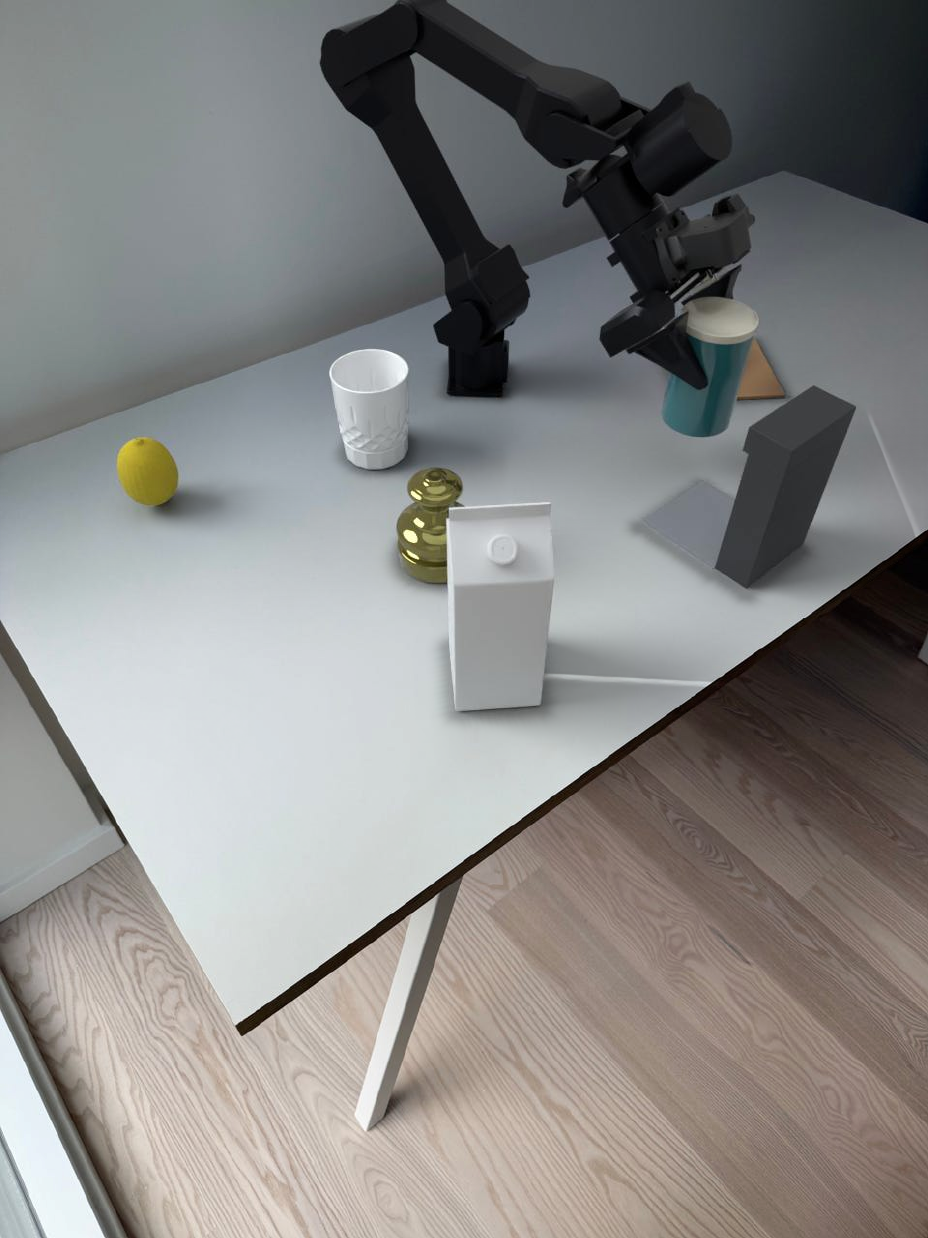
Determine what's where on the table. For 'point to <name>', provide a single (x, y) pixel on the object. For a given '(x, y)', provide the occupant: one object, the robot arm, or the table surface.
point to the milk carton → (499, 603)
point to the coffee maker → (763, 491)
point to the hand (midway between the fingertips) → (720, 370)
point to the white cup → (372, 406)
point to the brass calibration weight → (428, 523)
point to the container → (711, 366)
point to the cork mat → (759, 378)
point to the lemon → (147, 471)
